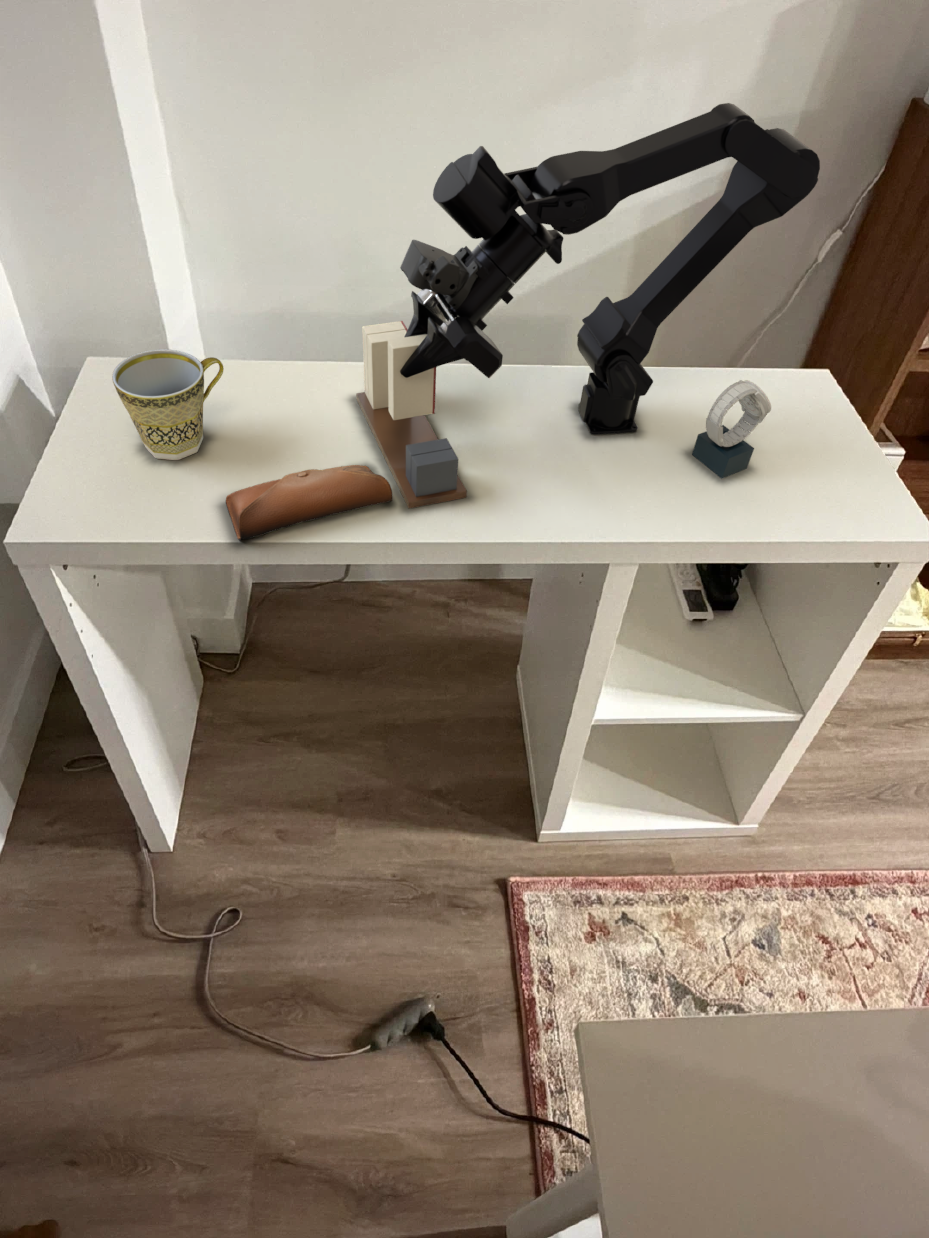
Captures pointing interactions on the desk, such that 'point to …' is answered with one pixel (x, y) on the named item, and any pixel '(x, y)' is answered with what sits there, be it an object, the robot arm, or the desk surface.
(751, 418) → the watch
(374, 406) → the white books
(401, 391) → the white book
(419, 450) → the grey books
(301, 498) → the sunglasses case
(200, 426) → the ceramic cup
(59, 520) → the desk surface
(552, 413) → the desk surface
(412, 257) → the robot arm
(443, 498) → the shelf board
